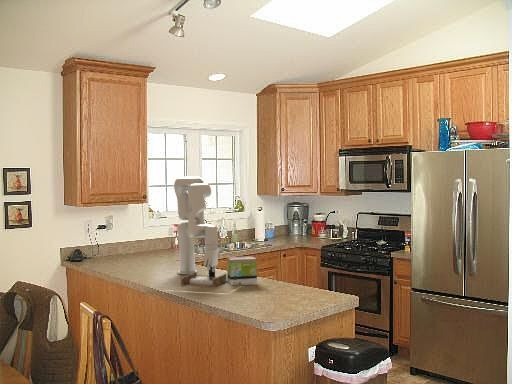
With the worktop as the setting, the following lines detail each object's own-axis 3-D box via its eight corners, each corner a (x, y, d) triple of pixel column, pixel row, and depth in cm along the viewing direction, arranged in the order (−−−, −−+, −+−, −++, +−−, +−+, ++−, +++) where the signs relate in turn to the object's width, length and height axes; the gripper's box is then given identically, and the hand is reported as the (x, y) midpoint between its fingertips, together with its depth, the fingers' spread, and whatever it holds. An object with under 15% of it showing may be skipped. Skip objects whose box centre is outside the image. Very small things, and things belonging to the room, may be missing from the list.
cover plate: (197, 280, 313) (197, 276, 313) (219, 281, 308) (219, 277, 308) (189, 284, 303) (189, 279, 303) (212, 285, 299) (212, 280, 299)
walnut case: (194, 280, 316) (194, 272, 316) (226, 282, 310) (226, 273, 310) (181, 286, 300) (181, 277, 300) (214, 288, 294) (214, 279, 294)
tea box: (231, 286, 299) (230, 259, 298) (227, 283, 308) (226, 257, 308) (257, 284, 303) (257, 258, 302) (252, 281, 312) (252, 255, 312)
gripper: (210, 245, 323) (211, 275, 324) (200, 248, 309) (200, 280, 310) (222, 245, 321) (222, 276, 321) (212, 248, 306) (212, 281, 307)
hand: (212, 278), depth 315 cm, fingers closed
